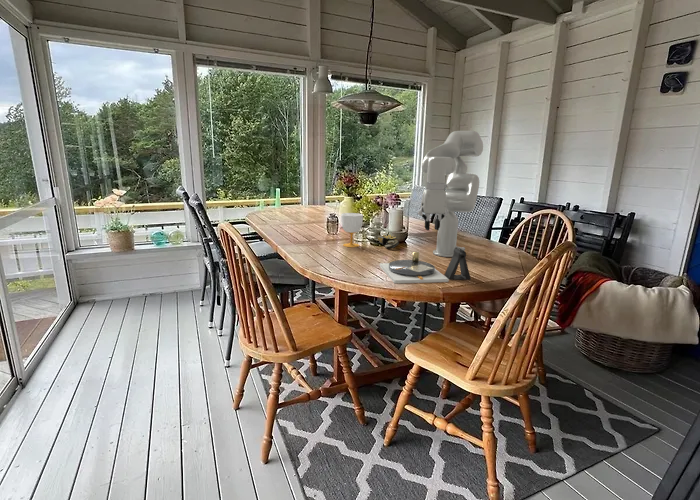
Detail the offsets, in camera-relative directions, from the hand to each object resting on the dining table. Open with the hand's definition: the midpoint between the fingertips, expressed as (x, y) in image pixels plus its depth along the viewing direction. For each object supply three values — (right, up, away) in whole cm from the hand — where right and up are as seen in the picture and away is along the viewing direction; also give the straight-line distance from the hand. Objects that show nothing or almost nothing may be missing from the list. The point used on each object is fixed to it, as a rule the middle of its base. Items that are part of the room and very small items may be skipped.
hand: (431, 229), depth 165 cm
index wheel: (-10, -17, -5) cm, 20 cm away
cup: (-35, -7, +43) cm, 56 cm away
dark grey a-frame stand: (+8, -20, -9) cm, 24 cm away
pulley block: (-15, -6, +49) cm, 51 cm away
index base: (-10, -19, -4) cm, 21 cm away
